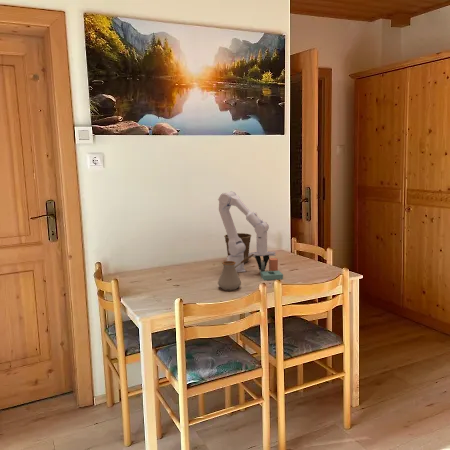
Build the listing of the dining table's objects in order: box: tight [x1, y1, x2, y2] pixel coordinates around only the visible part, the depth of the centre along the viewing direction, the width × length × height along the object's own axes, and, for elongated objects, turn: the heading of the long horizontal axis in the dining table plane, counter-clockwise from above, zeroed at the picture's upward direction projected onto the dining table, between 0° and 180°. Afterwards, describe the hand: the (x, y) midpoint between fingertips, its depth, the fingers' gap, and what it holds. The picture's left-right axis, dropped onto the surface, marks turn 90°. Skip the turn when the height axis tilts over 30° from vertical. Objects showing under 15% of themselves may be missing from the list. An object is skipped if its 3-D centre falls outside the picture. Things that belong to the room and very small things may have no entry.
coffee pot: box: [217, 254, 255, 291], centre depth 228 cm, size 21×12×15 cm, turn 124°
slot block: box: [260, 270, 284, 281], centre depth 243 cm, size 10×8×2 cm
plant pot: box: [223, 232, 252, 264], centre depth 277 cm, size 16×16×16 cm
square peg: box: [268, 257, 279, 271], centre depth 255 cm, size 4×4×7 cm
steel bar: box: [258, 259, 266, 275], centre depth 251 cm, size 2×4×7 cm, turn 9°
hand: (262, 269), depth 251 cm, fingers closed on steel bar, 2 cm apart
